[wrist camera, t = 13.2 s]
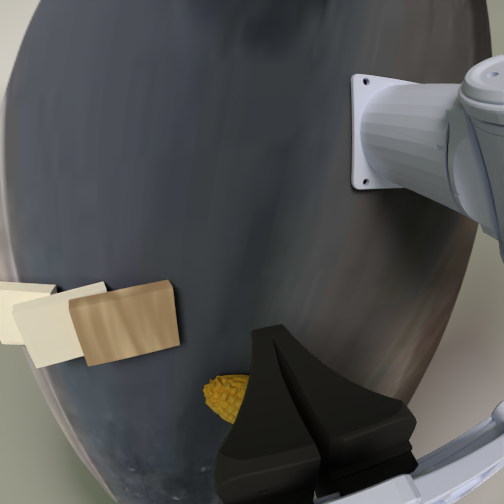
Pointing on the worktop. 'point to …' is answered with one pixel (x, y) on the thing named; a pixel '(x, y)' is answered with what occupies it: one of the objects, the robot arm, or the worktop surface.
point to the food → (226, 395)
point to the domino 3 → (125, 322)
